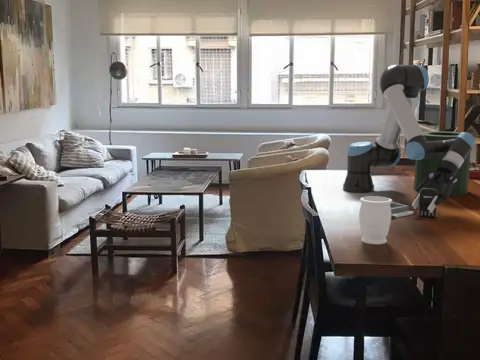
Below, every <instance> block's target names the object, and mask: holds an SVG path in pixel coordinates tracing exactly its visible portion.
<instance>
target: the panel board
mask: <svg viewBox="0 0 480 360" xmlns="http://www.w3.org/2000/svg"><path fill="white" fill-rule="evenodd" d="M390 207H391V215H392V216H396V218H400V217H407V216H410V215H411V216H412V215H414V211H412V210H410V206H409V205H407V204H402V203H398V202H394V201H392V203H391V204H390Z"/></svg>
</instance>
